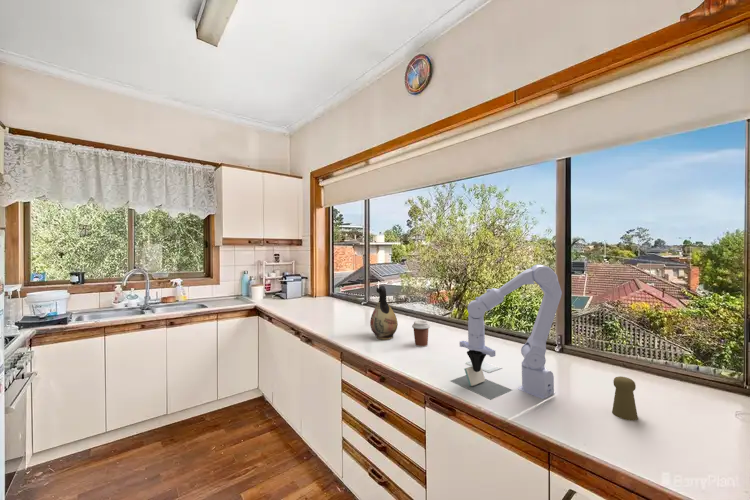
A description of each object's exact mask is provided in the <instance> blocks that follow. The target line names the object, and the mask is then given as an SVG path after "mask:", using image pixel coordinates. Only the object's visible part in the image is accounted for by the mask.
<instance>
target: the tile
mask: <svg viewBox="0 0 750 500" xmlns="http://www.w3.org/2000/svg"><path fill="white" fill-rule="evenodd" d="M463 369H464V373H465V375H466V376H467V379H468V382H469V385H470V386H473V385H476V384H478V383H481V382H484V381H486V380H485V379H486V378H485V376H484V375H485V374H484V371H483V370H482V368H481V370H480V371H479V372H475V371H474V369H473V366H469V367H465V368H463Z"/></svg>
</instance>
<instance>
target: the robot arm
mask: <svg viewBox="0 0 750 500" xmlns="http://www.w3.org/2000/svg"><path fill="white" fill-rule="evenodd" d="M535 283H536V284H537V285H538V287H540V289H541V291H542V292H543V296H542V300H541V303H540V305H539V308H538V312H537V315H536V318H535V320H534V324H533V327H532V330H531V332H530V335H529V337H528V338H527V340H526V342H525V343H524V344H523V345H522V346H521V349H520V351H521V352H520V353H521V355H522V356H523V360H522V361H521V386H518V387H516V389H517V390H519V391H521V392H524V393H525V394H529V395H532V396H534V397H537V398H539V399H542V400H543V399H546V398H548V397H550V396H552V395H553V394H556V392H555V386H554V385H555V381H554V377H555V376H554V373H553V371H552V370H549V369H547V367H546V361H547V359H546V352H547V340H548V337H549V334H550V331H551V329H552V325H553V322H554V320H555V317H556V313H557V311H558V309H559V308H558V307H559V304H560V302H561V298H562V295H563V291H562V289H561V285H560V282H559V278H558V275H557V273H556V272H555V271H554V270H553V269H552V268H551V267H550V266H547V265H544V264H540V263H539V264H534V265H533V266H531V267H530V268H527V269H525V270H523V271H522V272H520V273H518V274H517V275H515V277H513V278H512V279H510V280H509V281H507V282H506V283H504V284H503V285H502V286H501V287H498V288H494V287H492V288H487V289H486V292H484V293H483V294H481V295H479V296H475V299H474V300H471V301H469V303H468V304H467V313H468V317H467V319H468V320H467V335H468V337H467V338H468V339H467V340H468V341H467V340H466V341H465V340H460V341H459V347H460V348H465V349H467V351H466V354H467V356H468V357H469V359H470V360H469V361H471V363H472V366H473V369H474V371H475V372H479V371H480V370H481V365H482V362H483V361H485V357H486V356H489V357H490V358H495V357H496V350H495V349H492V348H490V347H488V346H486V339H485V338H486V337H485V319H484V318H485V317H484V316H485V314H486V312H488V311H490V310H492V309H494V308H495V307H497V306H498V305H501V304H502V303H503V302H504V298H505V296H507V295H509V294H510V293H512V292H514V291H515V290H517V289H519V288H521V287H522V286H524V285H535Z"/></svg>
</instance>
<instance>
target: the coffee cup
mask: <svg viewBox="0 0 750 500" xmlns="http://www.w3.org/2000/svg"><path fill="white" fill-rule="evenodd" d="M430 327H431V326H430V324H429V323H428V321H426V320H415V321H414V322H413V324H412V327H411V328H412V329H413V338H414V346H415V347H418V348H426V347H428V346H429V345H428V342H429V329H430Z"/></svg>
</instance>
